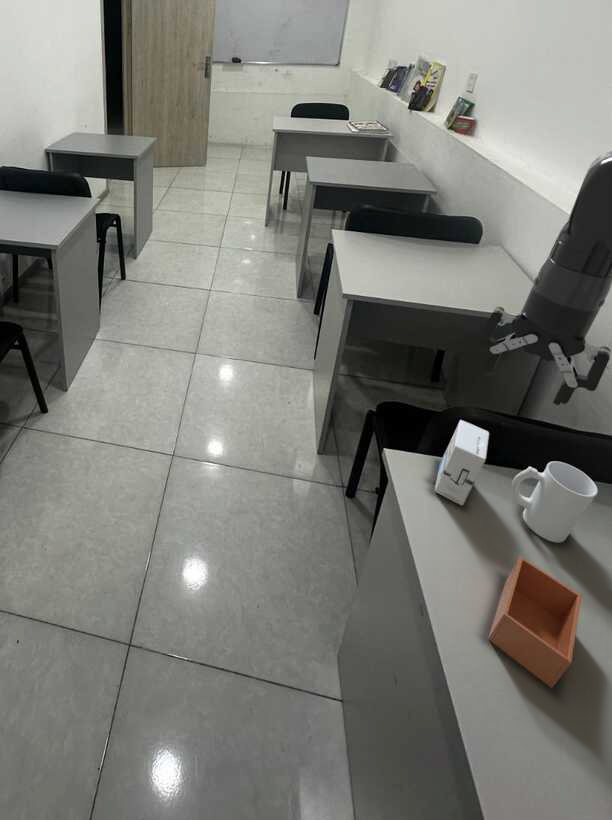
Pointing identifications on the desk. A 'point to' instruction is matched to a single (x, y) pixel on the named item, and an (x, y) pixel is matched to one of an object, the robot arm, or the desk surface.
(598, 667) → the desk surface
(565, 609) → the open box
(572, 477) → the mug
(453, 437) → the ink box
